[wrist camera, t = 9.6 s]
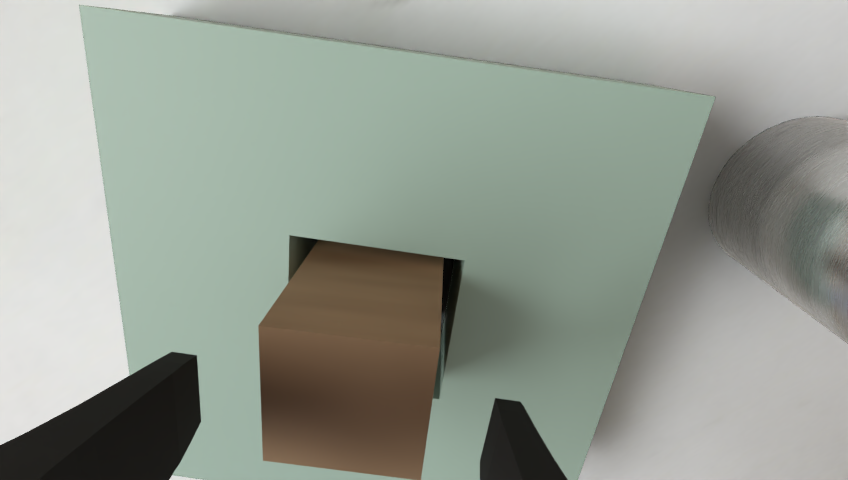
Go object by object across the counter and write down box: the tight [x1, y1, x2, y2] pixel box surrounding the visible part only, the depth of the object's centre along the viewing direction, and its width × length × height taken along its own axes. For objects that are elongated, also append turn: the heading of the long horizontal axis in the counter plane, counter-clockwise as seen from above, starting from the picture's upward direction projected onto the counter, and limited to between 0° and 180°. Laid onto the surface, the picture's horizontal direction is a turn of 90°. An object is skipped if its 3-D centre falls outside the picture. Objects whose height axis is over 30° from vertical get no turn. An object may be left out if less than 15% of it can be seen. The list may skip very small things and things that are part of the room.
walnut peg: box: [258, 240, 444, 480], centre depth 15 cm, size 4×4×8 cm
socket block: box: [79, 5, 716, 480], centre depth 16 cm, size 16×16×4 cm
